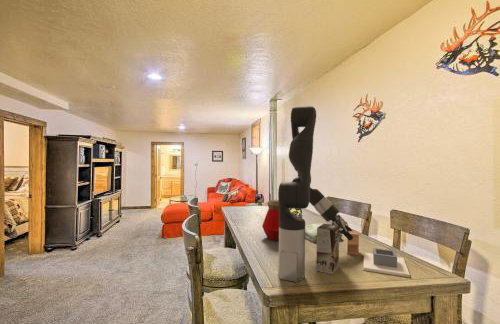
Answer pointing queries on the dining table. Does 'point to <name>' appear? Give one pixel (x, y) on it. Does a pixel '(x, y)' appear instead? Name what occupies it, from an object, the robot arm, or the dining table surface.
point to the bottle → (272, 221)
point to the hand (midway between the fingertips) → (352, 236)
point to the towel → (314, 232)
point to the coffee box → (327, 248)
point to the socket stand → (385, 262)
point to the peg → (353, 243)
